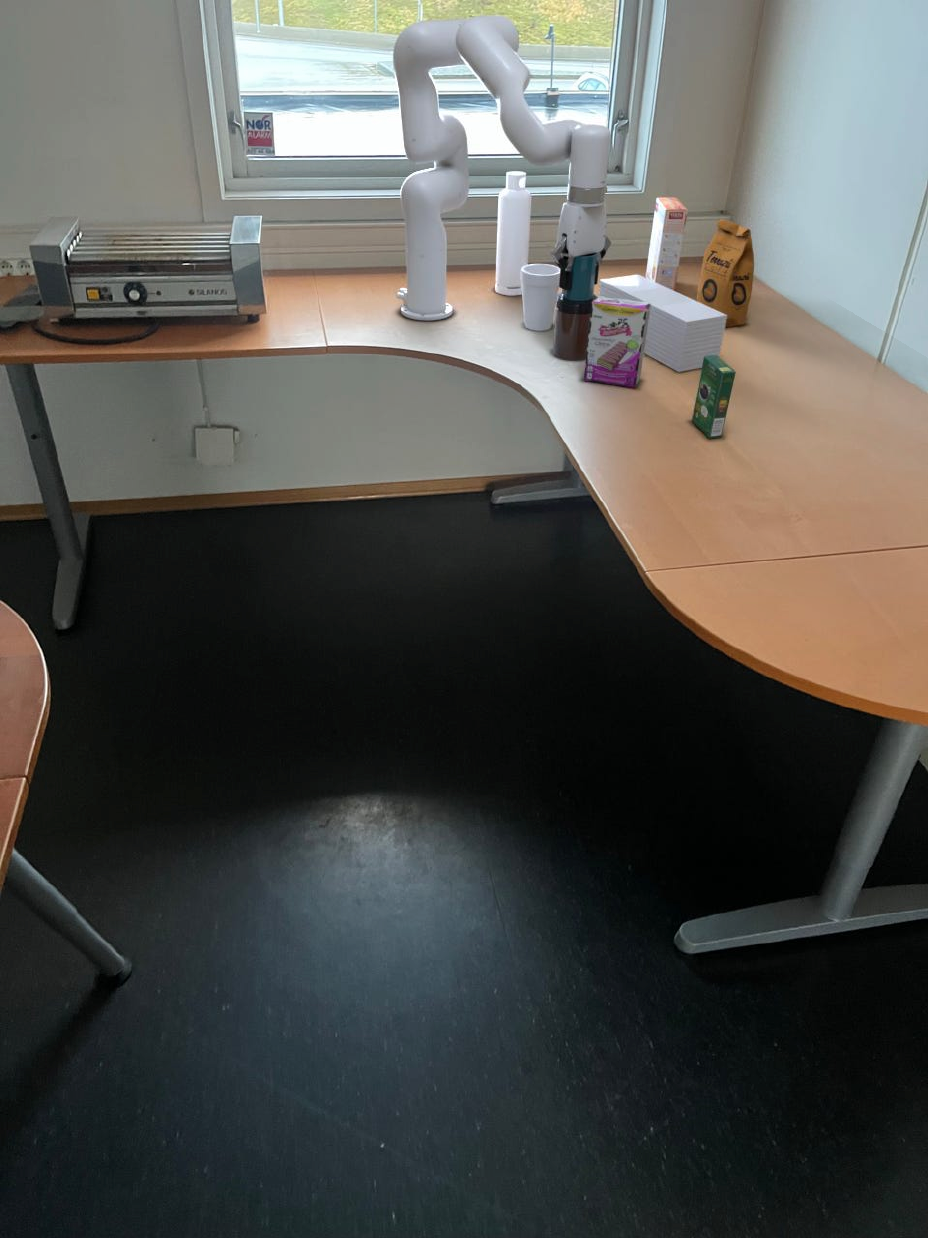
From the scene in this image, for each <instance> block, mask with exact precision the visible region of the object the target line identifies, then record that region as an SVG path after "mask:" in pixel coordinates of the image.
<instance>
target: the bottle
mask: <svg viewBox="0 0 928 1238" xmlns="http://www.w3.org/2000/svg"><path fill="white" fill-rule="evenodd" d="M505 179H506V180H505V188H504V189H502V190H501V191H500V193H499V195H498V206H497V231H496V232H497V233H496V257H495V284H494V291H495V293H497V294H499V295H502V296H504V295H505V296H522V284H521V280H520V277H521V268H522V267H523V266H526V265H529V249H530V233H531V232H530V231H531V216H532V215H531V213H532V194H531V192H530V191H529V190H528V189H526V181H527V180H526V179H527V173H526V172H524V171H518V170H517V171H516V170H515V171H514V170H513V171H512V170H511V171H507V172H506V175H505Z"/></svg>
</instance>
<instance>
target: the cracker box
mask: <svg viewBox="0 0 928 1238" xmlns="http://www.w3.org/2000/svg"><path fill="white" fill-rule="evenodd" d="M654 207H655V208H654V215H653V221H652V227H651V228H652V229H651V236H650V241H649V249H648V256H647V264H646V271H645V276H644V277H645V278H647V279H649V280H651V281H653V282H656V283H658V284H660V285H662V286H664V287H666V288H669V289H671V290H673V291H675V292H676V285H677V278H678V272H679V266H680V260H681V255H682V248H683V240H684V235H685V229H686V224H687V217H688V209H687V207H686V206H685V205H684V204H683V203H682V202H681V200H680V199H679V198H678V197H668V196H667V197H663V196H662V197H656V199H655V206H654Z"/></svg>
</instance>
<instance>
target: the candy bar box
mask: <svg viewBox="0 0 928 1238" xmlns="http://www.w3.org/2000/svg"><path fill="white" fill-rule="evenodd" d="M596 296H597V297H596V298H595V300H593V302H592V307H591V317H590V326H589V335H588V344H587V353H586V359H585V364H584V371H583V372H584V373H583V381H586V382H592V383H599V384H604V385H605V384H606V385H610V386H611V385H612V386H618V387H625V388H632V389H636V388H637V385H638V384H639V381H640V380H641V374H642V368H643V367H642V366H643V362H644V361H643V360H644V354H645V353H644V347H645V341H646V333H647V327H648V320H649V314H650V307H651V303H649V302H642V301H634V300H626V299H619V298H612V297H604V296H598V295H596Z"/></svg>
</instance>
